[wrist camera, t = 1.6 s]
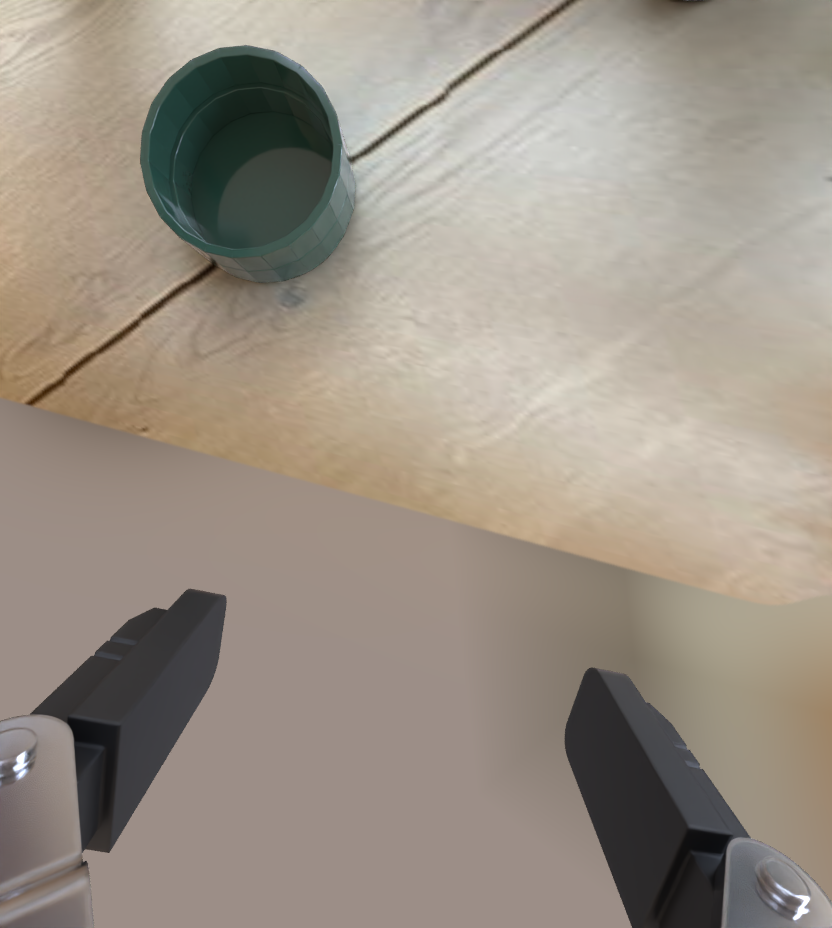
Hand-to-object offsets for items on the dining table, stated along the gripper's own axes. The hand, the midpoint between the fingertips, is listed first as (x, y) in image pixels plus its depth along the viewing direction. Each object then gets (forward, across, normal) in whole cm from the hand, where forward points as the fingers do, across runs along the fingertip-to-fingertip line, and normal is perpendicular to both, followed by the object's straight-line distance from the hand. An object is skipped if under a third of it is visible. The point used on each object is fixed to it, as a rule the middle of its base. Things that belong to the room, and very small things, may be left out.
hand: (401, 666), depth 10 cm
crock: (+30, +14, -15) cm, 37 cm away
